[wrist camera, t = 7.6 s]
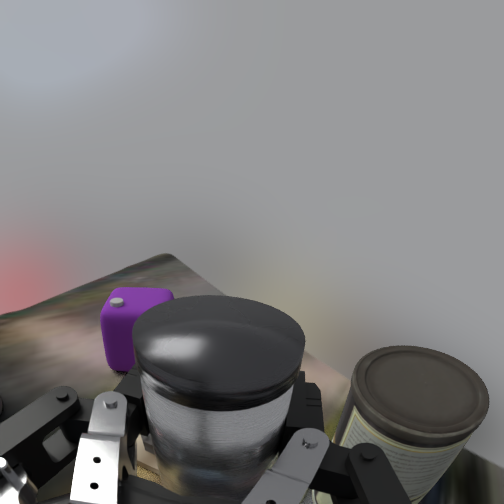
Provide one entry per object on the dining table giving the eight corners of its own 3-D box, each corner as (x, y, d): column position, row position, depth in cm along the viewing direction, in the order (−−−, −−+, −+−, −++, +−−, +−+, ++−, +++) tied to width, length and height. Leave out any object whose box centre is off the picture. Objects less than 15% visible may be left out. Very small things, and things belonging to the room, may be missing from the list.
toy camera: (171, 327, 49) (170, 271, 47) (188, 375, 37) (186, 307, 35) (109, 331, 45) (103, 274, 43) (108, 381, 33) (96, 312, 31)
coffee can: (302, 461, 24) (335, 347, 21) (393, 448, 25) (443, 340, 21) (320, 547, 14) (388, 453, 11) (427, 518, 15) (514, 410, 11)
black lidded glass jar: (144, 504, 10) (95, 343, 7) (189, 441, 15) (184, 286, 12) (250, 543, 8) (286, 405, 6) (279, 467, 14) (314, 311, 11)
